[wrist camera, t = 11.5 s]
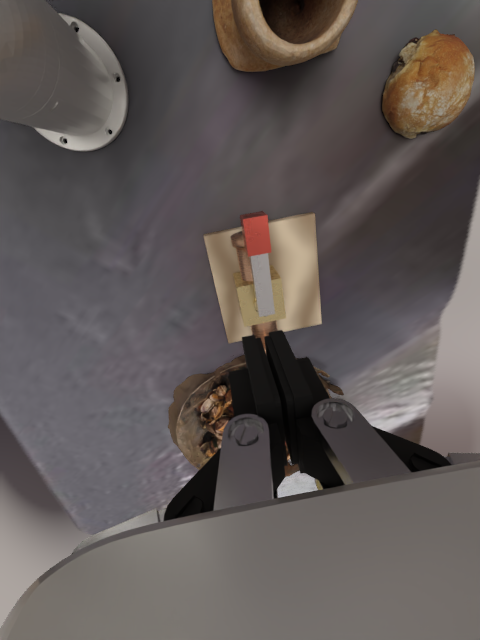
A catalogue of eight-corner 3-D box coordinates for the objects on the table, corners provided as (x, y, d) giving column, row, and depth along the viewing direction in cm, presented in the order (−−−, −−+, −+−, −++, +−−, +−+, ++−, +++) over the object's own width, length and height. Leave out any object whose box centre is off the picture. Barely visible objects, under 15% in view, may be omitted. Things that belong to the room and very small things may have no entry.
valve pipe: (246, 339, 51) (251, 364, 45) (224, 232, 43) (227, 243, 36) (280, 332, 51) (291, 356, 45) (266, 223, 43) (277, 233, 36)
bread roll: (368, 136, 44) (398, 161, 39) (376, 44, 36) (416, 61, 31) (436, 110, 43) (475, 132, 38) (460, 11, 35) (514, 23, 30)
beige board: (227, 338, 52) (228, 343, 51) (203, 234, 44) (203, 236, 43) (318, 319, 53) (321, 323, 51) (311, 212, 44) (314, 213, 43)
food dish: (363, 356, 59) (385, 382, 52) (306, 469, 73) (318, 501, 66) (180, 330, 51) (178, 357, 44) (157, 463, 65) (152, 498, 59)
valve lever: (273, 309, 41) (279, 321, 38) (254, 312, 41) (258, 325, 38) (261, 210, 35) (267, 214, 32) (239, 214, 35) (242, 219, 32)
